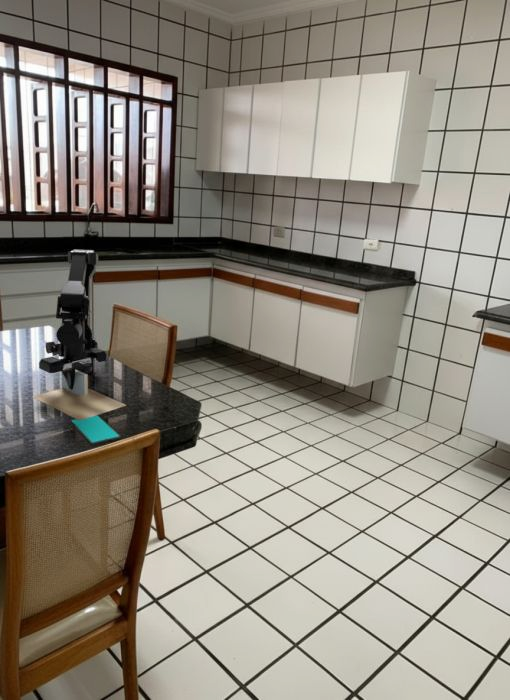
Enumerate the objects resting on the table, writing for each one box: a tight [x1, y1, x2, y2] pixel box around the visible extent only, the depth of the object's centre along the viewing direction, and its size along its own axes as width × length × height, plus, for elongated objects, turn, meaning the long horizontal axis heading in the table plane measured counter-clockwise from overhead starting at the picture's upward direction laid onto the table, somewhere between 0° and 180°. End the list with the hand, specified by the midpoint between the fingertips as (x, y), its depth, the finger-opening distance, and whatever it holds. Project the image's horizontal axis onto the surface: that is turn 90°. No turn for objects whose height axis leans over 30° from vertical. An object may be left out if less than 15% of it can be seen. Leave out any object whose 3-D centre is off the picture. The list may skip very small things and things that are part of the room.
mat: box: [31, 388, 127, 421], centre depth 148 cm, size 15×22×1 cm
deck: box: [61, 369, 89, 396], centre depth 154 cm, size 2×9×6 cm, turn 52°
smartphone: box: [71, 415, 122, 446], centre depth 132 cm, size 7×1×15 cm
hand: (74, 388), depth 154 cm, fingers closed on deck, 2 cm apart
